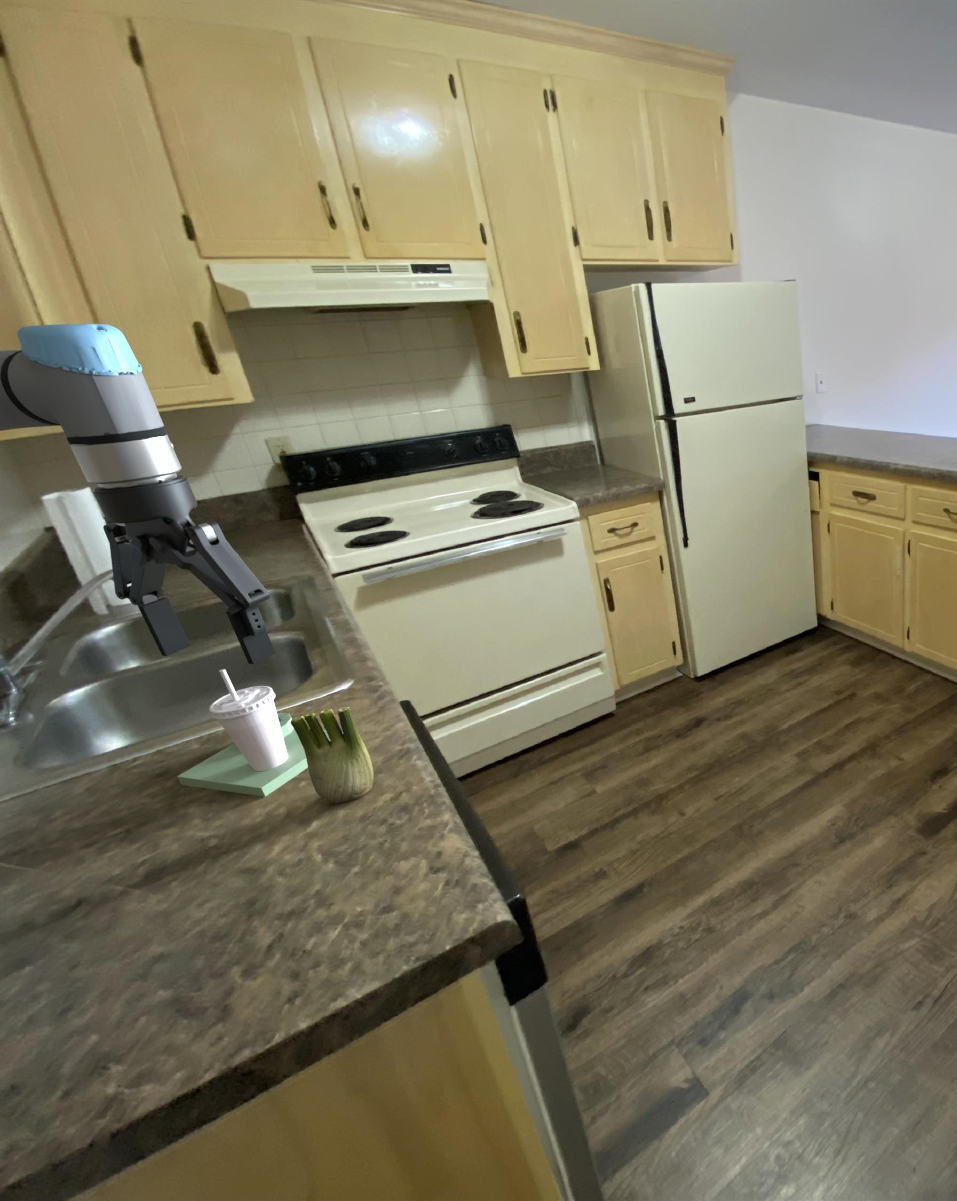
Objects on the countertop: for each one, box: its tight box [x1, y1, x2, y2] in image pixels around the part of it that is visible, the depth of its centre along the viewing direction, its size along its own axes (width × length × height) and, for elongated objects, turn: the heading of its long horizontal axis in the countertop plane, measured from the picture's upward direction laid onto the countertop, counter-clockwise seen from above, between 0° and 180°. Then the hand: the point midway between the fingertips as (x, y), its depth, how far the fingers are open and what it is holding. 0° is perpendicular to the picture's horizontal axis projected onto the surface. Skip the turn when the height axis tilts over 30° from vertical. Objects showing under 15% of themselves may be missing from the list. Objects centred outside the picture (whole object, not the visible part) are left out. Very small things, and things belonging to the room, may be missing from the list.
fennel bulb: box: [291, 706, 375, 805], centre depth 77 cm, size 6×5×12 cm
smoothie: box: [208, 668, 288, 771], centre depth 82 cm, size 6×6×14 cm
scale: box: [176, 712, 343, 798], centre depth 87 cm, size 14×13×3 cm
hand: (218, 654), depth 78 cm, fingers open, 13 cm apart
